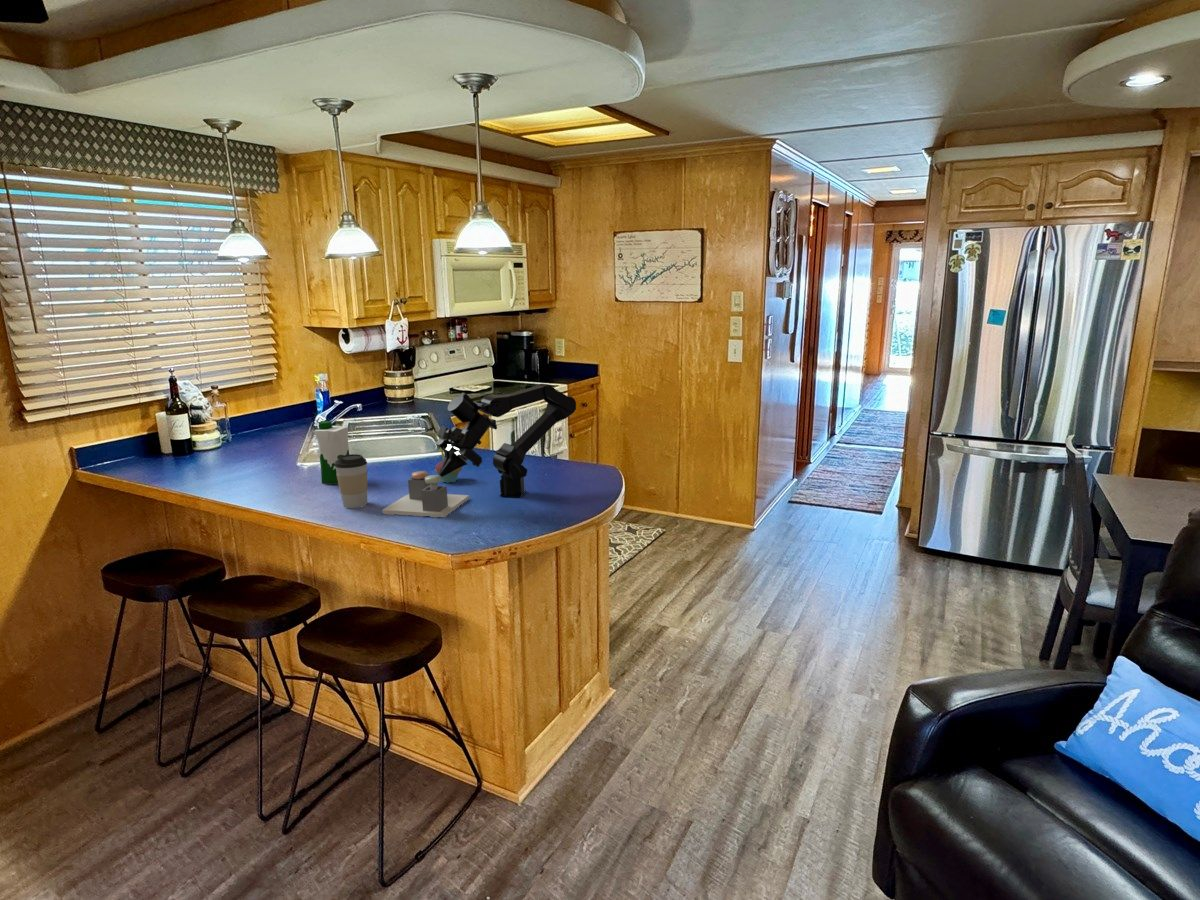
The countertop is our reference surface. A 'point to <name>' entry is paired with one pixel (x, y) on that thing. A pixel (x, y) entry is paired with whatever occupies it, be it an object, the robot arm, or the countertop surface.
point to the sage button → (433, 481)
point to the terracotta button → (419, 475)
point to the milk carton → (331, 448)
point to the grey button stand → (425, 501)
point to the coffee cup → (352, 480)
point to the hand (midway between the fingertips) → (440, 475)
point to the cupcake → (451, 476)
